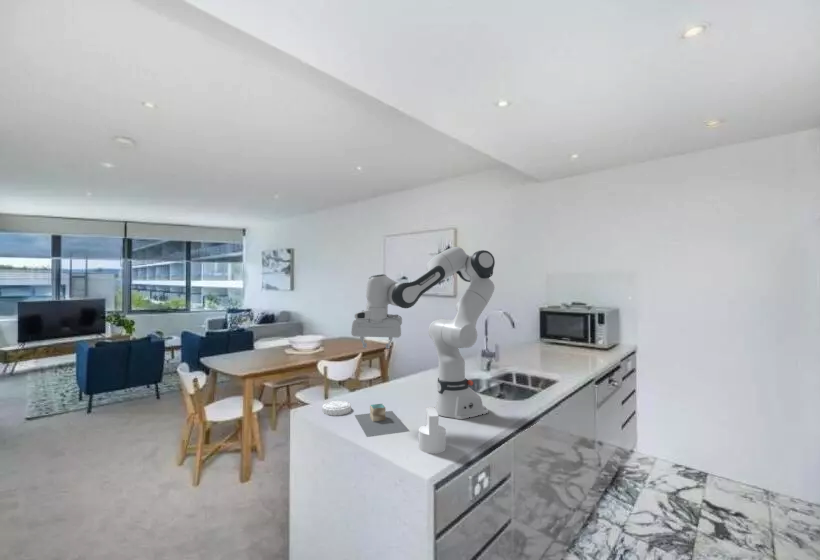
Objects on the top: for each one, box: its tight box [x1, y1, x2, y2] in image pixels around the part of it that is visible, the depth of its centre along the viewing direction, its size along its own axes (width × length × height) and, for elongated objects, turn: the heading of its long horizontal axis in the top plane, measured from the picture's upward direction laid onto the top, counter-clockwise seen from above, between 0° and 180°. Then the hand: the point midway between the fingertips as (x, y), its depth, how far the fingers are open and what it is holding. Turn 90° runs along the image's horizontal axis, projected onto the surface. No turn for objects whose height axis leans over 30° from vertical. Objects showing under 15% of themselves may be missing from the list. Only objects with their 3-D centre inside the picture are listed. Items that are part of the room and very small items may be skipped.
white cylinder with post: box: [418, 406, 447, 455], centre depth 128 cm, size 9×9×12 cm
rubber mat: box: [354, 410, 410, 438], centre depth 148 cm, size 16×23×1 cm
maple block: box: [369, 403, 386, 422], centre depth 152 cm, size 5×5×5 cm
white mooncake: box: [321, 399, 352, 416], centre depth 162 cm, size 12×12×4 cm
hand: (376, 347), depth 156 cm, fingers open, 8 cm apart
